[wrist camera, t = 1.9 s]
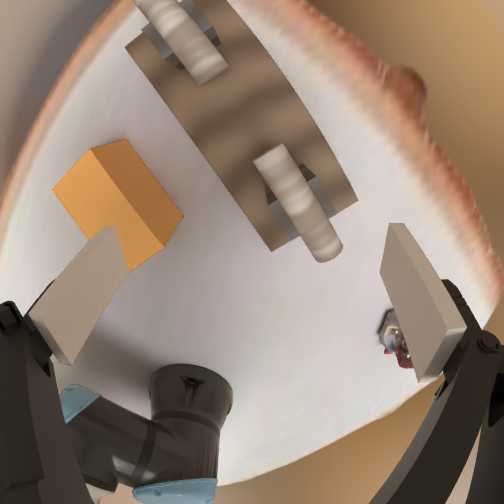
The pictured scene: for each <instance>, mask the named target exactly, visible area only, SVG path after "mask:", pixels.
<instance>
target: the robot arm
mask: <svg viewBox="0 0 504 504" xmlns="http://www.w3.org/2000/svg"><path fill="white" fill-rule="evenodd" d="M128 272H129V270H128V267H127V264H126V261H125V257H124V254H123V251H122V248H121V244H120V241H119V237H118V234H117V230H116V227H115V226H108V227H103V228H102V229H101V230H100V231H99V232H98V233H97V234H96V235H95V236H94V237H93V238H92V239H91V240H90V241H89V242H88V243H87V244H86V245H85V246H84V248H83V249H82V250H81V251H80V252H79V253H78V254H77V255H76V256H75V258H74V259H73V260H72V261H71V262H70V263H69V264H68V265H67V267H66V268H65V269H64V270H63V271H62V272H61V274H60V275H59V276H58V277H57V278H56V279H55V280H54V281H52V282H51V283H50V284H49V285H48V286H47V287H46V289H45V290H44V292H42V294H41V295H40V296H39V298H38V299H37V300H36V301H35V302H34V304H33V305H32V306H31V307H30V309H29V310H28V311H27V313H26V314H25V315H24V317H22V315H21V313H20V312H19V310H18V308H17V306H16V305H15V303H14V302H13V301H6V302H4V303H2V304H0V504H99V503H100V500H101V498H102V497H104V496H107V495H111V494H114V493H115V490H116V488H117V485H118V483H121V484H124V485H127V486H129V487H132V488H133V490H132V493H133V497H134V498H135V499H136V500H138V501H141V502H142V503H145V504H210V503H211V502H212V501H213V500H214V496H215V490H216V485H217V482H218V479H217V470H218V454H219V438H220V430H221V428H222V426H223V424H224V422H225V419H226V416H227V415H228V413H229V412H230V410H231V407H232V400H233V392H232V389H231V387H230V385H229V384H228V383H227V382H226V381H225V380H224V379H223V378H222V377H221V376H219V375H218V374H216V373H214V372H212V371H210V370H207V369H204V368H201V367H197V366H192V365H172V366H167V367H164V368H162V369H160V370H159V371H157V372H156V373H155V374H154V376H153V377H152V380H151V384H150V387H149V395H150V399H151V414H152V417H151V421H150V420H148V419H146V418H144V417H142V416H140V415H138V414H135V413H133V412H131V411H129V410H127V409H125V408H123V407H121V406H119V405H117V404H115V403H113V402H111V401H109V400H107V399H105V398H104V397H102V395H101V394H97V393H95V392H93V391H91V390H89V389H87V388H85V387H83V386H81V385H78V384H72V385H69V386H68V387H66V388H65V389H64V390H63V392H62V393H61V394H60V395H59V393H58V388H57V383H56V378H55V373H54V367H53V363H52V361H51V359H50V357H51V355H52V353H53V354H54V355H55V357H56V358H57V360H58V361H59V362H61V363H64V364H68V365H73V363H74V361H75V359H76V358H77V356H78V354H79V352H80V350H81V349H82V347H83V345H84V343H85V341H86V340H87V338H88V336H89V334H90V333H91V331H92V329H93V328H94V326H95V324H96V323H97V321H98V319H99V318H100V316H101V314H102V313H103V311H104V309H105V308H106V306H107V304H108V303H109V301H110V300H111V298H112V296H113V295H114V293H115V292H116V290H117V289H118V287H119V285H120V284H121V282H122V281H123V279H124V278H125V276H126V275H127V273H128ZM380 275H381V277H382V280H383V282H384V285H385V287H386V290H387V292H388V295H389V297H390V300H391V303H392V305H393V308H394V311H395V313H396V316H397V319H398V322H399V324H400V327H401V330H402V333H403V336H404V339H405V342H406V345H407V348H408V351H409V354H410V357H411V360H412V363H413V367H414V370H415V373H416V377H417V380H418V383H422V382H428V381H434V380H437V378H438V377H439V375H440V373H441V372H442V370H443V373H444V375H445V378H446V379H445V381H444V382H443V383H442V385H441V386H440V388H439V389H438V390H437V392H436V393H435V396H436V398H435V400H434V402H433V404H432V406H431V408H430V410H429V412H428V414H427V415H426V417H425V419H424V421H423V423H422V425H421V426H420V428H419V430H418V432H417V434H416V435H415V437H414V439H413V440H412V442H411V444H410V445H409V447H408V449H407V450H406V452H405V453H404V455H403V457H402V458H401V460H400V461H399V463H398V464H397V466H396V467H395V469H394V470H393V472H392V473H391V474H390V476H389V477H388V479H387V480H386V482H385V483H384V484H383V486H382V487H381V488H380V490H379V491H378V492H377V494H376V495H375V496H374V498H373V499H372V500H371V501H370V503H369V504H445V503H446V501H447V499H448V497H449V496H450V494H451V492H452V490H453V488H454V486H455V484H456V482H457V480H458V478H459V476H460V474H461V472H462V470H463V468H464V466H465V464H466V462H467V459H468V457H469V455H470V453H471V450H472V448H473V445H474V443H475V440H476V438H477V435H478V433H479V430H480V427H481V424H482V427H481V434H480V440H479V447H478V452H477V458H476V463H475V468H474V473H473V477H472V481H471V485H470V489H469V493H468V497H467V500H466V503H465V504H504V345H501V344H500V341H499V340H498V339H497V337H496V336H495V335H493V334H492V333H490V332H488V331H485V330H481V328H480V326H479V324H478V322H477V320H476V319H475V317H474V315H473V313H472V311H471V310H470V308H469V306H468V305H467V303H466V301H465V299H464V298H462V294H461V293H460V291H459V290H458V288H457V287H456V286H455V285H454V284H453V283H452V282H451V281H449V280H448V279H443V280H441V279H440V278H439V276H438V274H437V273H436V271H435V270H434V268H433V266H432V265H431V263H430V262H429V260H428V259H427V257H426V255H425V254H424V252H423V251H422V249H421V248H420V246H419V245H418V243H417V242H416V240H415V239H414V237H413V236H412V235H411V233H410V232H409V230H408V229H407V227H406V226H405V225H404V223H389V226H388V232H387V237H386V243H385V248H384V253H383V258H382V263H381V268H380Z"/></svg>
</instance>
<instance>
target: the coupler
mask: <svg viewBox="0 0 504 504" xmlns="http://www.w3.org/2000/svg"><path fill="white" fill-rule="evenodd" d="M52 190H53V192H54V193H55V194H56V196H57V197H58V199H59V200H60V202H61V203H62V204H63V206H64V207H65V209H66V210H67V211H68V213H69V214H70V215H71V217H72V218H73V220H74V221H75V222H76V224H77V225H78V226H79V228H80V229H81V230H82V231H83V233H84V234H85V235H86V237H87V238H88V239H89V241H90V240H91V239H92V238H93V237H94V236H95V235H96V234H97V233H98V232H99V231H100V230H101V229H102V228H103V227H108V226H115V227H116V230H117V234H118V237H119V241H120V244H121V248H122V251H123V254H124V257H125V261H126V264H127V267H128V270H129V272H130V271H132V270H133V269H135V268H136V267H137V266H139V265H140V264H142V263H143V262H144V261H146V260H147V259H149V258H150V257H151V256H153V255H154V254H156V253H157V252H159V251H160V250H161V249H163V248H164V247H165V245H166V244H167V242H168V240H169V239H170V237H171V236H172V234H173V232H174V231H175V229H176V228H177V226H178V224H179V223H180V221H181V220H182V218H183V217H184V216H183V215H182V214H181V212H180V211H179V210H178V208H177V207H176V206H175V204H174V203H173V202H172V200H171V199H170V198H169V196H168V195H167V194H166V192H165V191H164V190H163V188H162V187H161V186H160V184H159V183H158V182H157V180H156V179H155V178H154V176H153V175H152V174H151V172H150V171H149V169H148V168H147V167H146V165H145V164H144V163H143V161H142V160H141V158H140V157H139V156H138V154H137V153H136V152H135V150H134V149H133V147H132V146H131V145H130V143H129V142H128V140H127V139H125V140H121V141H117V142H113V143H109V144H105V145H102V146H98V147H94V148H91V149H89V150H88V151H87V152H86V153H85V154H84V155H83V156H82V157H81V158H80V159H79V160H78V161H77V163H76V164H75V165H74V166H73V167H72V168H71V169H70V170H69V171H68V172H67V173H66V174H65V176H64V177H63V178H62V179H61V180H60V181H59V182H58V183H57V185H56V186H55V187H54V188H53V189H52ZM129 272H128V273H129ZM128 273H127V274H128Z"/></svg>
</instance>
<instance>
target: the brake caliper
mask: <svg viewBox="0 0 504 504" xmlns="http://www.w3.org/2000/svg"><path fill="white" fill-rule="evenodd" d="M379 340H380V342H381V343H382V344H383V345H384V346H385V347H386V348H385V351H384V354H395V355H396V357H397V360H398V364H399V366H400V367H402V368H406V369H407V368H414V367H413V363H412V360H411V357H409V358H407V355H409V351H408V348H407V345H406V342H405V339H404V336H403V333H402V330H401V327H400V324H399V322H398V319H397V316H396V313H395V311H394V309H393V310H391V311H389V312H388V314H387V317H386V319H385V322H384V326H383V327H382V329H381V332H380V335H379Z"/></svg>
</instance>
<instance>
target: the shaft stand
mask: <svg viewBox="0 0 504 504" xmlns="http://www.w3.org/2000/svg"><path fill="white" fill-rule="evenodd" d="M134 3H135V5H136V6H137V7H138V8H139V9H140V11H141V12H142V13H143V14H144V15H145V17H146V18H147V19H148V20H149V22H150V23H149V24H148V25H146V26H145V27H144V28H142V29H141V30H142V31H143V33H142V34H140V35H139V36H138V37H137V38H135V39H134V40H133V41H132V42H130V43H129V44H128V45H127V46H125V49H126V50H127V51H128V53H129V54H130V55H131V57H132V58H133V59H134V61H135V62H136V63H137V65H138V66H139V67H140V69H141V70H142V71H143V73H144V74H145V75H146V77H147V78H148V80H149V81H150V82H151V84H152V85H153V86H154V88H155V89H156V90H157V92H158V93H159V95H160V96H161V97H162V99H163V100H164V101H165V103H166V104H167V105H168V107H169V108H170V110H171V111H172V112H173V114H174V115H175V117H176V118H177V119H178V121H179V122H180V123H181V125H182V126H183V128H184V129H185V130H186V132H187V133H188V134H189V136H190V137H191V139H192V140H193V141H194V143H195V144H196V146H197V147H198V148H199V150H200V151H201V153H202V154H203V155H204V157H205V158H206V160H207V161H208V162H209V164H210V165H211V167H212V168H213V169H214V171H215V172H216V174H217V175H218V176H219V178H220V179H221V181H222V182H223V184H224V185H225V186H226V188H227V189H228V191H229V192H230V193H231V195H232V196H233V198H234V199H235V201H236V202H237V203H238V205H239V206H240V208H241V209H242V210H243V212H244V213H245V215H246V216H247V218H248V219H249V220H250V222H251V223H252V225H253V226H254V228H255V229H256V231H257V232H258V233H259V235H260V236H261V238H262V239H263V241H264V242H265V243H266V245H267V246H268V248H269V249H270V251H271V252H272V251H274V250H275V249H277V248H279V247H281V246H282V245H284V244H286V243H287V242H289V241H291V240H293V239H295V238H297V237H298V236H301V237H302V239H303V240H304V242H305V244H306V245H307V247H308V249H309V250H310V252H311V253H312V255H313V257H314V258H315V260H316V261H317V262H320V263H323V262H327V261H330V260H332V259H334V258H335V257H336V256H338V255H339V254H340V252H341V251H342V249H343V244H342V243H341V241H340V239H339V237H338V235H337V233H336V232H335V230H334V228H333V226H332V224H331V223H330V221H329V218H331V217H332V216H334V215H336V214H337V213H338V212H340V211H342V210H343V209H345V208H347V207H348V206H350V205H352V204H353V203H355V202H357V201H359V200H358V198H357V196H356V194H355V192H354V190H353V188H352V187H351V185H350V183H349V181H348V179H347V177H346V175H345V173H344V172H343V170H342V168H341V166H340V164H339V162H338V161H337V159H336V157H335V155H334V153H333V152H332V150H331V148H330V146H329V145H328V143H327V141H326V140H325V138H324V136H323V135H322V133H321V131H320V130H319V128H318V126H317V125H316V123H315V121H314V120H313V118H312V116H311V115H310V113H309V112H308V110H307V109H306V107H305V105H304V104H303V102H302V101H301V99H300V98H299V96H298V95H297V93H296V92H295V90H294V89H293V87H292V86H291V84H290V83H289V81H288V80H287V78H286V77H285V75H284V74H283V73H282V71H281V70H280V68H279V67H278V65H277V64H276V63H275V61H274V60H273V59H272V57H271V56H270V54H269V53H268V52H267V50H266V49H265V48H264V46H263V45H262V44H261V42H260V41H259V40H258V38H257V37H256V36H255V35H254V33H253V32H252V31H251V30H250V28H249V27H248V26H247V25H246V23H245V22H244V21H243V20H242V18H241V17H240V16H239V15H238V14H237V12H236V11H235V10H234V9H233V8H232V6H231V5H230V4H229V3H228V2H227V1H226V0H183V1H182V2H180V3H178V1H177V0H134Z"/></svg>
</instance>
